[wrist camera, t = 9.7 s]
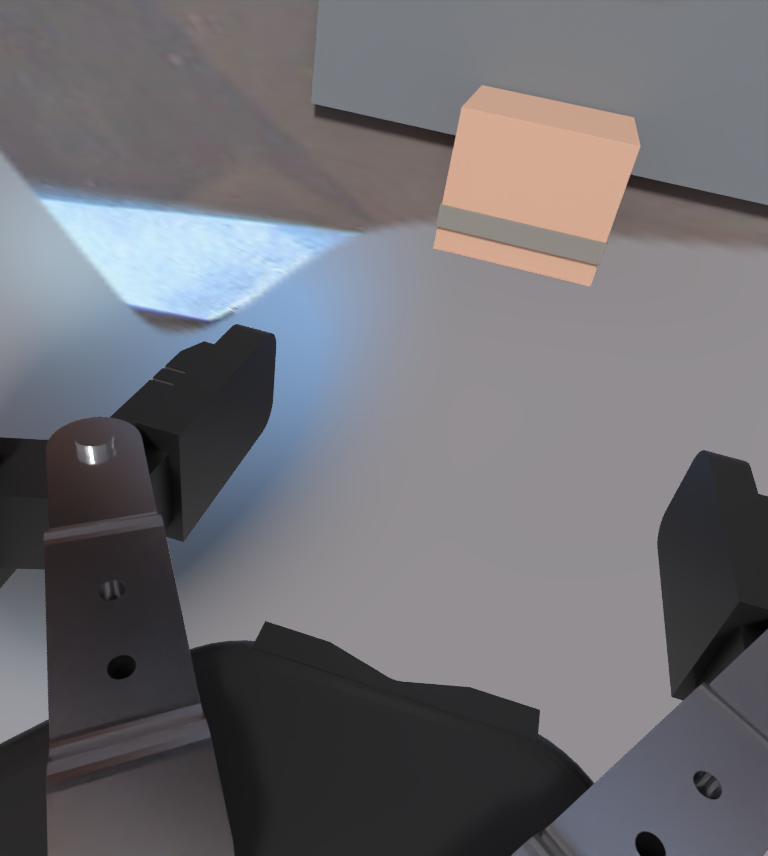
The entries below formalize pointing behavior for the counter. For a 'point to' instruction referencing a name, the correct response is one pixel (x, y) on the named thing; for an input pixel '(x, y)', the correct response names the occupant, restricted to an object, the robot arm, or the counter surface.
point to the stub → (535, 183)
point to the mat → (568, 72)
